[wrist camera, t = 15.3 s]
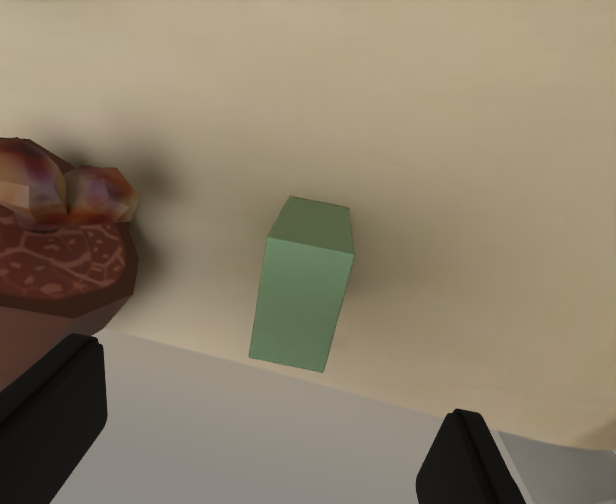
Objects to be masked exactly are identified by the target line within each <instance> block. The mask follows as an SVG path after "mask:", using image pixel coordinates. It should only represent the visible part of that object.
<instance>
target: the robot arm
mask: <svg viewBox="0 0 616 504" xmlns="http://www.w3.org/2000/svg"><path fill="white" fill-rule="evenodd" d="M107 415H108V414H107V399H106V383H105V368H104V351H103V345H101V344H99V342H98V339H97V338H96V337H92V336H87V335H82V334H77V333H71V334H69V335H68V336H66V337H65V338H64V339H63V340H62V341H61V342H59V343H58V344H57V345H56V346H55V347H53V348H52V349H51V350H50V351H49V352H48V353H46V354H45V355H44V356H43V357H42V358H41V359H39V360H38V361H37V362H36V363H35V364H34V365H32V366H31V367H30V368H29V369H28V370H27V371H25V372H24V373H23V374H22V375H21V376H20V377H18V378H17V379H16V380H15V381H14V382H12V383H11V384H10V385H8V386H7V387H6V388H4V389H3V390H2V391H1V392H0V504H50V502H51V501H52V499H53V498H54V497H55V495H56V494H57V492H58V491H59V490H60V488H61V487H62V485H63V484H64V483H65V481H66V480H67V478H68V477H69V476H70V474H71V473H72V471H73V470H74V469H75V467H76V466H77V465H78V463H79V462H80V460H81V459H82V458H83V456H84V455H85V453H86V452H87V451H88V449H89V448H90V447H91V445H92V444H93V442H94V441H95V439H96V438H97V437H98V435H99V434H100V433H101V431H102V430H103V428H104V426H105V424H106V421H107ZM416 493H417V498H418V502H419V504H526V503H525V500H524V498H523V496H522V494H521V492H520V490H519V488H518V486H517V484H516V483H515V481H514V480H513V478H512V476H511V475H510V472H509V470H508V469H507V466H506V464H505V462H504V460H503V458H502V456H501V454H500V452H499V450H498V448H497V446H496V443H495V441H494V439H493V437H492V435H491V433H490V431H489V429H488V427H487V425H486V423H485V421H484V419H483V417H482V416H481V414H479V413H477V412H472V411H467V410H462V409H455V410H454V411H453V413H448V414H447V415H446V417H445V419H444V421H443V423H442V425H441V428H440V430H439V432H438V433H437V436H436V438H435V440H434V442H433V444H432V446H431V448H430V450H429V452H428V454H427V456H426V458H425V461H424V462H423V465H422V467H421V469H420V471H419V473H418V475H417V478H416Z"/></svg>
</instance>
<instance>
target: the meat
mask: <svg viewBox="0 0 616 504" xmlns="http://www.w3.org/2000/svg"><path fill="white" fill-rule="evenodd" d="M139 197H140V194H139V193H138V192H137V191H136V190H135V189H134V188H133V187H132V186H131V185H130V183H129V182H128V181H127V180H126V179H125V178H124V176H123V175H122V174H121V172H120V171H119V170H118V169H117V168H99V167H88V166H78V167H77V168H75V167H74V166H72V165H70V164H69V163H67V162H66V161H64V160H62V159H61V158H59V157H57V156H56V155H54V154H53V153H51V152H49V151H48V150H46V149H45V148H43V147H41V146H40V145H38V144H36V143H35V142H33V141H32V140H30V139H20V138H18V137H16V138H0V392H1V391H2V390H3V389H4V388H6V387H7V386H8V385H10V384H11V383H12V382H14V381H15V380H16V379H17V378H18V377H20V376H21V375H22V374H23V373H24V372H25V371H27V370H28V369H29V368H30V367H31V366H32V365H34V364H35V363H36V362H37V361H38V360H39V359H41V358H42V357H43V356H44V355H45V354H46V353H48V352H49V351H50V350H51V349H52V348H53V347H55V346H56V345H57V344H58V343H59V342H61V341H62V340H63V339H64V338H65V337H66V336H68V335H69V334H71V333H77V334H82V335H87V336H92V335H94V334H95V333H97V332H98V331H100V330H102V329H103V328H104V327H105V326H106V325H107V323H108V322H109V321H110V320H111V319H112V318H113V317H114V315H115V314H116V313H117V312H118V311H119V310H120V308H121V307H122V306H123V305H124V304H125V303H126V302H127V300H128V299H129V298H130V297H131V296H132V295H133V292H134V286H135V281H136V275H137V269H138V263H139V258H138V255H137V252H136V249H135V246H134V243H133V239H132V236H131V233H130V230H129V227H128V224H127V223H126V222H127V221H131V220H132V218H133V215H134V213H135V211H136V209H137V205H138V201H139Z"/></svg>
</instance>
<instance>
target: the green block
mask: <svg viewBox="0 0 616 504" xmlns="http://www.w3.org/2000/svg"><path fill="white" fill-rule="evenodd" d="M354 257H355V253H354V245H353V237H352V230H351V222H350V215H349V208H346V207H341V206H337V205H332V204H327V203H322V202H317V201H312V200H307V199H303V198H298V197H293V196H289V198H288V200H287V202H286V203H285V205H284V207H283V209H282V211H281V212H280V214H279V216H278V218H277V220H276V222H275V223H274V225H273V227H272V229H271V231H270V232H269V234H268V236H267V239H266V245H265V252H264V259H263V265H262V272H261V278H260V285H259V291H258V298H257V305H256V311H255V318H254V324H253V331H252V338H251V344H250V351H249V358H253V359H258V360H263V361H268V362H273V363H277V364H282V365H287V366H292V367H297V368H302V369H307V370H312V371H317V372H321V373H323V372H324V370H325V366H326V362H327V358H328V355H329V351H330V347H331V343H332V340H333V336H334V332H335V328H336V325H337V321H338V317H339V313H340V310H341V306H342V302H343V298H344V295H345V291H346V287H347V283H348V280H349V276H350V272H351V268H352V265H353V261H354Z"/></svg>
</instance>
